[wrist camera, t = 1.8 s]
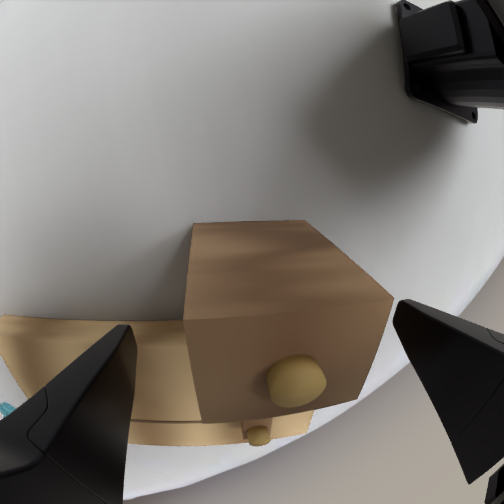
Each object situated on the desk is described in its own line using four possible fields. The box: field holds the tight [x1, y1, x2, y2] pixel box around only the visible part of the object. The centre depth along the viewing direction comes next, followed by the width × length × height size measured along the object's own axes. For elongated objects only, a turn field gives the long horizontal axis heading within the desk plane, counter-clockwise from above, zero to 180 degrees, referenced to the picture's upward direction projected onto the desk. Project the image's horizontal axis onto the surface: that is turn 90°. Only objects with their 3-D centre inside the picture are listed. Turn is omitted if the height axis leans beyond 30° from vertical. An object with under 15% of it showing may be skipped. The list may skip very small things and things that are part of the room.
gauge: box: [183, 220, 394, 446], centre depth 11 cm, size 5×12×8 cm, turn 179°
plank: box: [0, 315, 314, 446], centre depth 14 cm, size 20×10×2 cm, turn 89°
